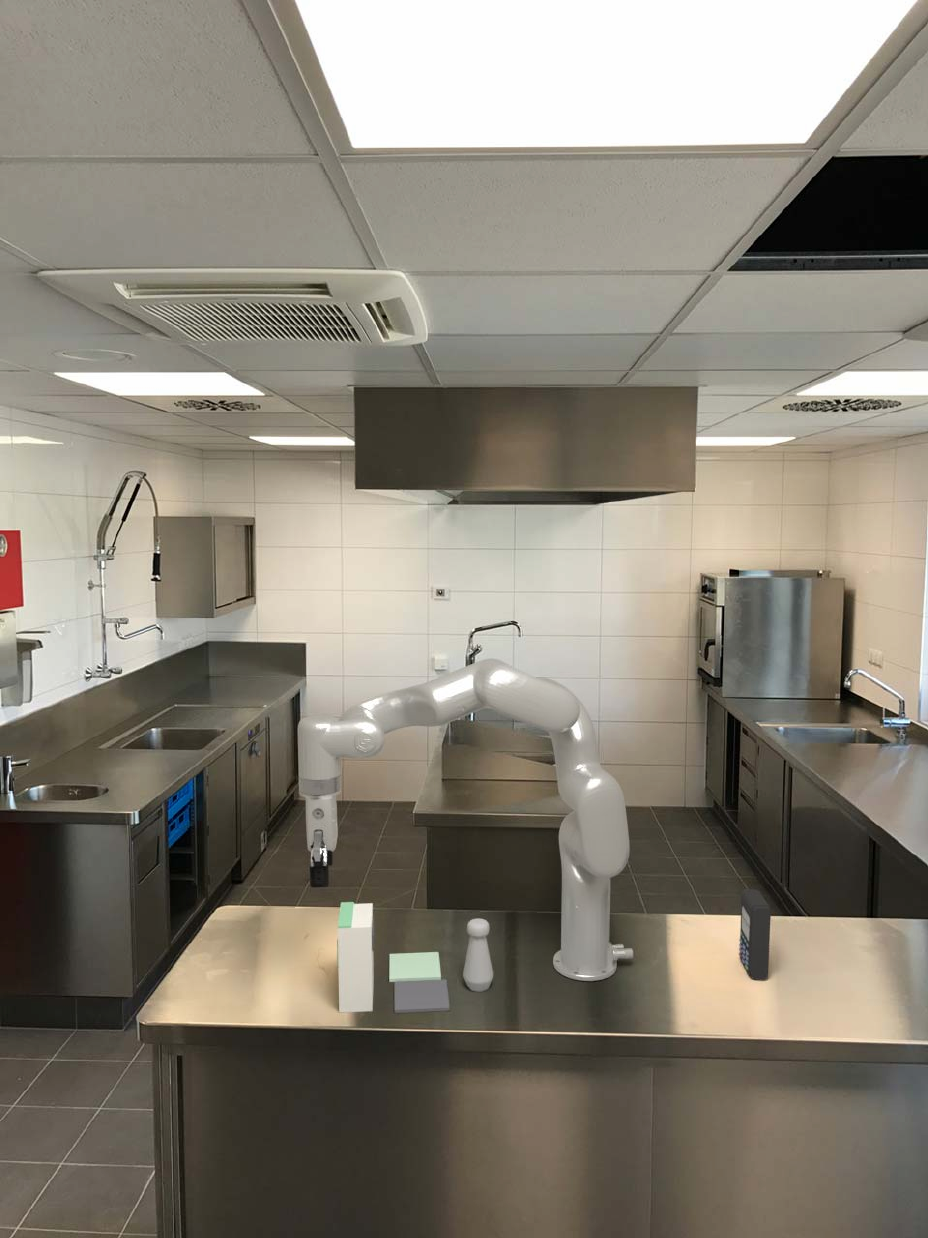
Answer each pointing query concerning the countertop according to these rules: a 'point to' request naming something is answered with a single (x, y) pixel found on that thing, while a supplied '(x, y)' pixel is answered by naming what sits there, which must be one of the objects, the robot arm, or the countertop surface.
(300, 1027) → the countertop surface
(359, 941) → the block
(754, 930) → the card reader
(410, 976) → the green pad
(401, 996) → the grey pad
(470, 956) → the salt shaker
